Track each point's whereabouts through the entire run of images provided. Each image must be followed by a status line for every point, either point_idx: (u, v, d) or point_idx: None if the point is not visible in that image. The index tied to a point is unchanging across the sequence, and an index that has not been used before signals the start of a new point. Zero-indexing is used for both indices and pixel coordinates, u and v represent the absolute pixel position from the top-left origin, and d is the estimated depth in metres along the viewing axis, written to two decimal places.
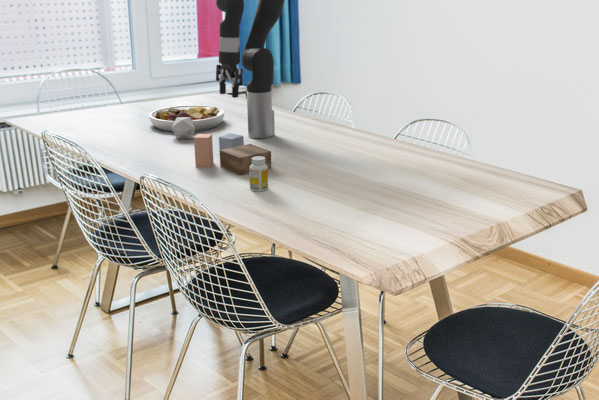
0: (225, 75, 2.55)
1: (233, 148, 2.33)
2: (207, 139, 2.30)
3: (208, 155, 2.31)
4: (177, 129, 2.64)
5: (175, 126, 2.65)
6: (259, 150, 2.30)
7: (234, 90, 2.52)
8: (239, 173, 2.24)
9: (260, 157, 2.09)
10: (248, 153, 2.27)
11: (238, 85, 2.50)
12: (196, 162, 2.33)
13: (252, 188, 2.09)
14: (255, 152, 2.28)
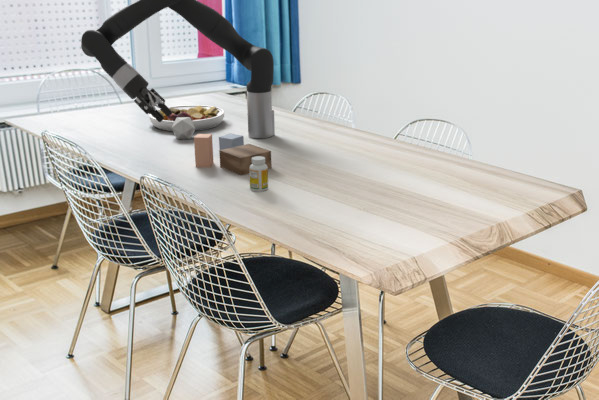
0: None
1: (233, 148, 2.33)
2: (207, 139, 2.30)
3: (208, 155, 2.31)
4: (177, 129, 2.64)
5: (175, 126, 2.65)
6: (259, 150, 2.30)
7: (154, 116, 2.27)
8: (240, 173, 2.24)
9: (260, 157, 2.09)
10: (248, 153, 2.27)
11: (148, 112, 2.24)
12: (196, 162, 2.33)
13: (252, 188, 2.09)
14: (255, 152, 2.28)
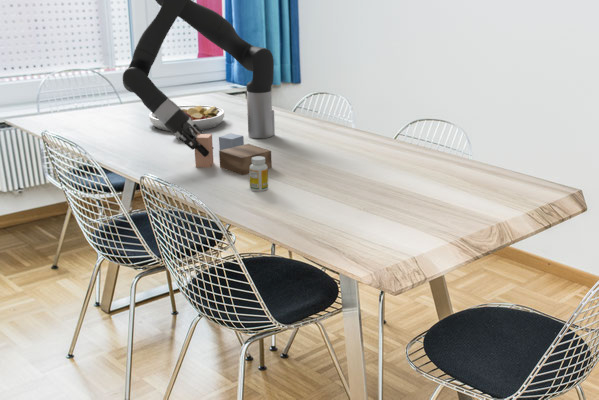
0: None
1: (232, 148, 2.33)
2: (207, 139, 2.30)
3: (208, 155, 2.31)
4: None
5: None
6: (259, 150, 2.31)
7: None
8: (241, 173, 2.24)
9: (260, 157, 2.09)
10: (248, 153, 2.27)
11: (193, 148, 2.28)
12: (196, 162, 2.33)
13: (252, 188, 2.09)
14: (256, 152, 2.28)
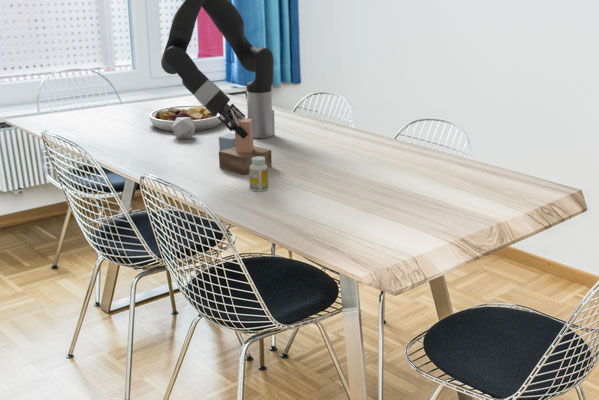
0: None
1: (231, 149, 2.32)
2: (248, 124, 2.25)
3: (249, 140, 2.26)
4: (177, 129, 2.64)
5: (175, 126, 2.65)
6: (259, 149, 2.31)
7: (237, 133, 2.23)
8: (243, 173, 2.24)
9: (260, 157, 2.09)
10: None
11: (232, 129, 2.21)
12: (237, 147, 2.28)
13: (252, 188, 2.09)
14: (256, 151, 2.29)
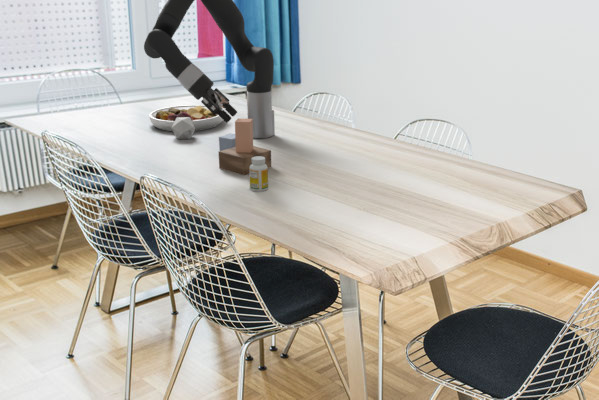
0: None
1: (231, 149, 2.32)
2: (248, 123, 2.25)
3: (249, 140, 2.27)
4: (177, 129, 2.64)
5: (175, 126, 2.65)
6: (259, 149, 2.31)
7: (221, 116, 2.22)
8: (243, 173, 2.24)
9: (260, 157, 2.09)
10: (249, 153, 2.28)
11: (215, 113, 2.20)
12: (236, 147, 2.28)
13: (252, 188, 2.09)
14: (256, 151, 2.29)
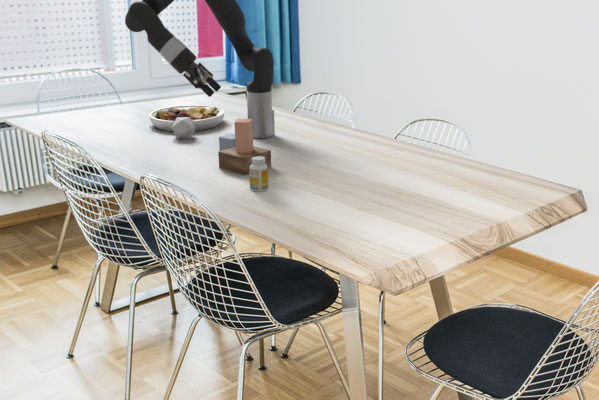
0: None
1: (231, 149, 2.32)
2: (248, 124, 2.24)
3: (249, 140, 2.26)
4: (177, 129, 2.64)
5: (175, 126, 2.65)
6: (258, 149, 2.31)
7: (203, 90, 2.19)
8: (243, 173, 2.24)
9: (260, 157, 2.09)
10: (249, 153, 2.27)
11: (198, 86, 2.17)
12: (236, 147, 2.28)
13: (252, 188, 2.09)
14: (256, 152, 2.29)
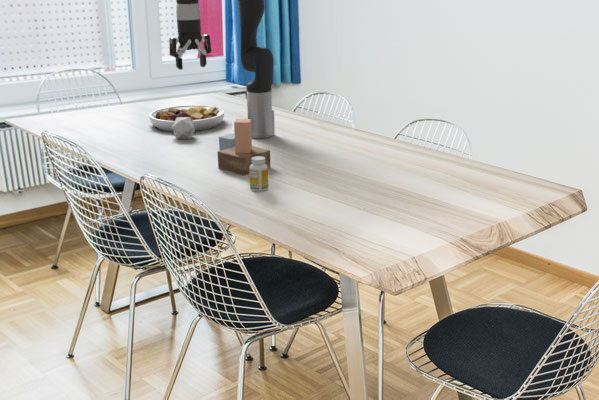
0: None
1: (230, 149, 2.32)
2: (248, 124, 2.24)
3: (248, 140, 2.26)
4: (177, 129, 2.64)
5: (175, 126, 2.65)
6: (258, 150, 2.31)
7: None
8: (242, 173, 2.24)
9: (260, 157, 2.09)
10: (248, 153, 2.27)
11: (171, 55, 2.31)
12: (236, 148, 2.27)
13: (252, 188, 2.09)
14: (255, 152, 2.29)
